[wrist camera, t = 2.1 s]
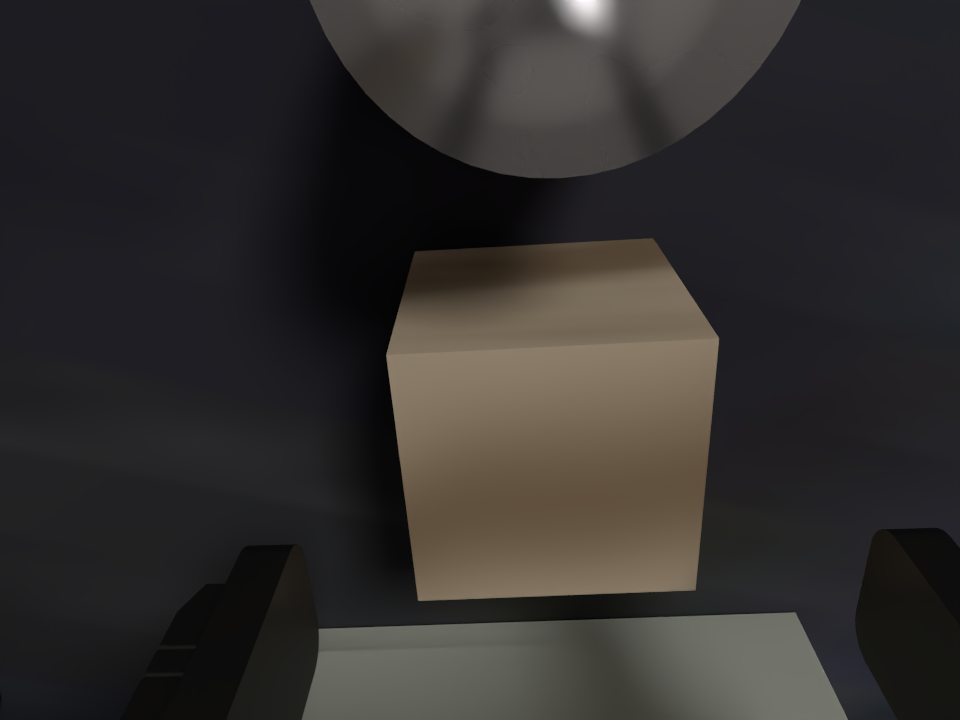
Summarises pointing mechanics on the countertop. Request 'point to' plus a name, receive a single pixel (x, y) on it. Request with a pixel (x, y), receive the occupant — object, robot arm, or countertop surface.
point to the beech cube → (551, 420)
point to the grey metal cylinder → (552, 73)
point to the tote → (574, 671)
